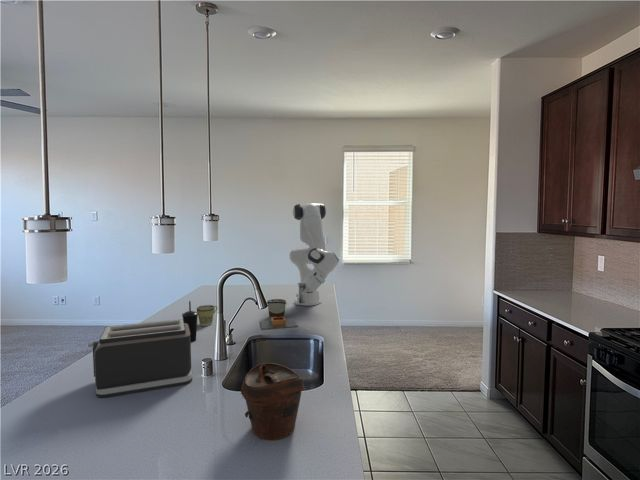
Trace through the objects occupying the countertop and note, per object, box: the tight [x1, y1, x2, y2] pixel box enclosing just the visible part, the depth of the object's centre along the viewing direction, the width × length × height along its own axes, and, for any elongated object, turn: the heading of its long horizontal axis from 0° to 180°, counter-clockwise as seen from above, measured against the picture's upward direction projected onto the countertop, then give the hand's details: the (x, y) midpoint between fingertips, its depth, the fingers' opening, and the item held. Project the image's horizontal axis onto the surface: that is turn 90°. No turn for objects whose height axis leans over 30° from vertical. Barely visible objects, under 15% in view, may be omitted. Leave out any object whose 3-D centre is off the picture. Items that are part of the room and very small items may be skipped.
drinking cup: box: [181, 300, 199, 343], centre depth 192 cm, size 8×8×20 cm
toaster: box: [87, 318, 193, 399], centre depth 145 cm, size 19×35×20 cm, turn 112°
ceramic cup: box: [196, 304, 218, 327], centre depth 222 cm, size 13×10×10 cm
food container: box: [266, 298, 288, 318], centre depth 238 cm, size 12×6×10 cm, turn 84°
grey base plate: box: [259, 316, 299, 330], centre depth 220 cm, size 14×20×4 cm
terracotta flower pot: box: [240, 362, 306, 441], centre depth 114 cm, size 18×20×18 cm
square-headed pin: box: [297, 282, 306, 303], centre depth 221 cm, size 4×4×11 cm
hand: (300, 293), depth 221 cm, fingers closed on square-headed pin, 4 cm apart
